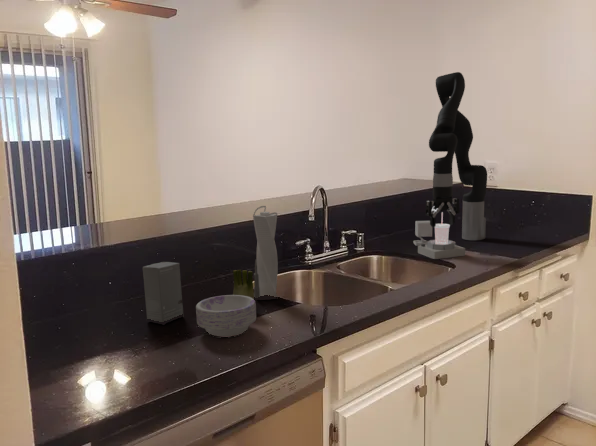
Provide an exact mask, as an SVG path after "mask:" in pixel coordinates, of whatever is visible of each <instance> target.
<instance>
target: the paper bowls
mask: <svg viewBox="0 0 596 446" xmlns="http://www.w3.org/2000/svg"><path fill="white" fill-rule="evenodd" d="M195 313H196V325H198V327H200V328H202V329H204V330H205V331H206V333H207V332H208V333H209V334H208V333H207V334H208V335H210V334H212V335H217V336H231V335H237V334H240V333H243V332H244V331H246V330H247V331H248V329H249V326H250V325H252V324H253V323H255V322H256V320H257V305H256V301H255V300H254V299H253V298H251V297H248V296H243V295H233V294H226V295H225V294H224V295H217V296H212V297H208V298H204V299H202V300H201V301H199V302H198V303H197V304H196V305H195ZM247 331H246V332H247ZM244 333H245V332H244ZM244 333H243V334H244Z"/></svg>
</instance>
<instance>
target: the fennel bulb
mask: <svg viewBox="0 0 596 446" xmlns="http://www.w3.org/2000/svg"><path fill="white" fill-rule="evenodd" d="M232 274H233V292H232V295H243V296H248V297H251V298H253V299H254V272H253V271H251V270H249V271H248V270H246V269H245V270H243V269H237V270H236V269H235V270H232Z"/></svg>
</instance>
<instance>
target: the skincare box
mask: <svg viewBox="0 0 596 446" xmlns="http://www.w3.org/2000/svg"><path fill="white" fill-rule="evenodd" d="M142 276H143V288H144V299H145V311H146V320H147V319H151V320H154V321H159V322H164V321H167V320H170V319H172V318H174V317H177V316H179V315H182V314H183V315H184V307H183V295H182V294H183V293H182V292H183V291H182V282H181V278H182V277H181V267H180V262H173V261H172V262H171V261H161V262H157V263H151V264H149V265H144V266H142Z"/></svg>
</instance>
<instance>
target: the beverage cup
mask: <svg viewBox="0 0 596 446" xmlns="http://www.w3.org/2000/svg"><path fill="white" fill-rule="evenodd" d="M443 217H444V212H443V211H441V220H440V221H441V223H436V226H435V227H434V240H435V244H448V240H449V234H450V233H449V232H450V227H451V224H449V223H443V222H444V220H443V219H444V218H443Z"/></svg>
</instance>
